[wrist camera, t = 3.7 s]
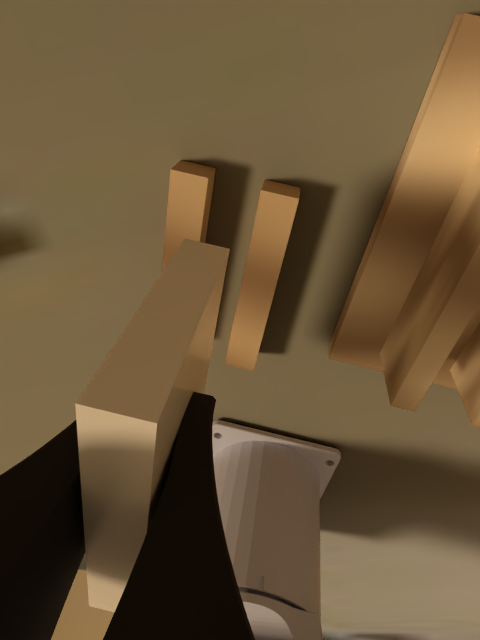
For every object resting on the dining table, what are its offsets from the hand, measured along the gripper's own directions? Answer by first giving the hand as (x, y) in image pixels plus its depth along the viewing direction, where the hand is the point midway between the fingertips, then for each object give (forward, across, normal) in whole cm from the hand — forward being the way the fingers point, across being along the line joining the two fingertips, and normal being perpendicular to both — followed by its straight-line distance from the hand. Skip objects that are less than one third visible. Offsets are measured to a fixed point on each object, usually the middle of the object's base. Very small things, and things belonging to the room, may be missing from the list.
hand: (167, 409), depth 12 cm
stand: (+9, 0, 0) cm, 9 cm away
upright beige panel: (+3, 0, 0) cm, 3 cm away
